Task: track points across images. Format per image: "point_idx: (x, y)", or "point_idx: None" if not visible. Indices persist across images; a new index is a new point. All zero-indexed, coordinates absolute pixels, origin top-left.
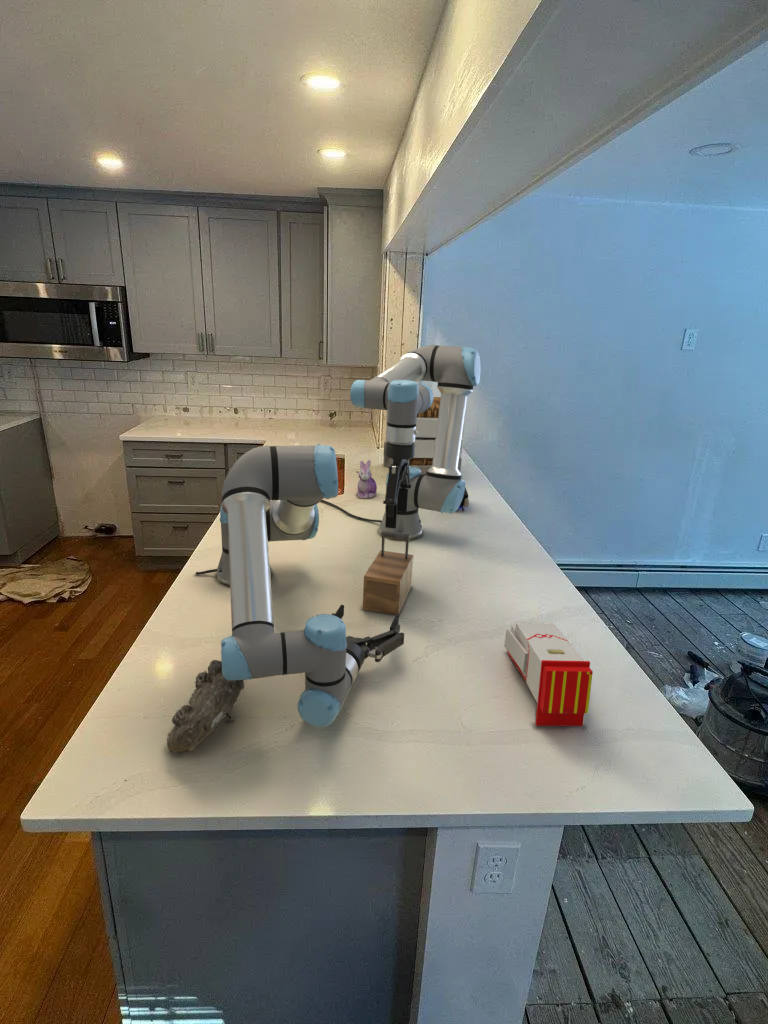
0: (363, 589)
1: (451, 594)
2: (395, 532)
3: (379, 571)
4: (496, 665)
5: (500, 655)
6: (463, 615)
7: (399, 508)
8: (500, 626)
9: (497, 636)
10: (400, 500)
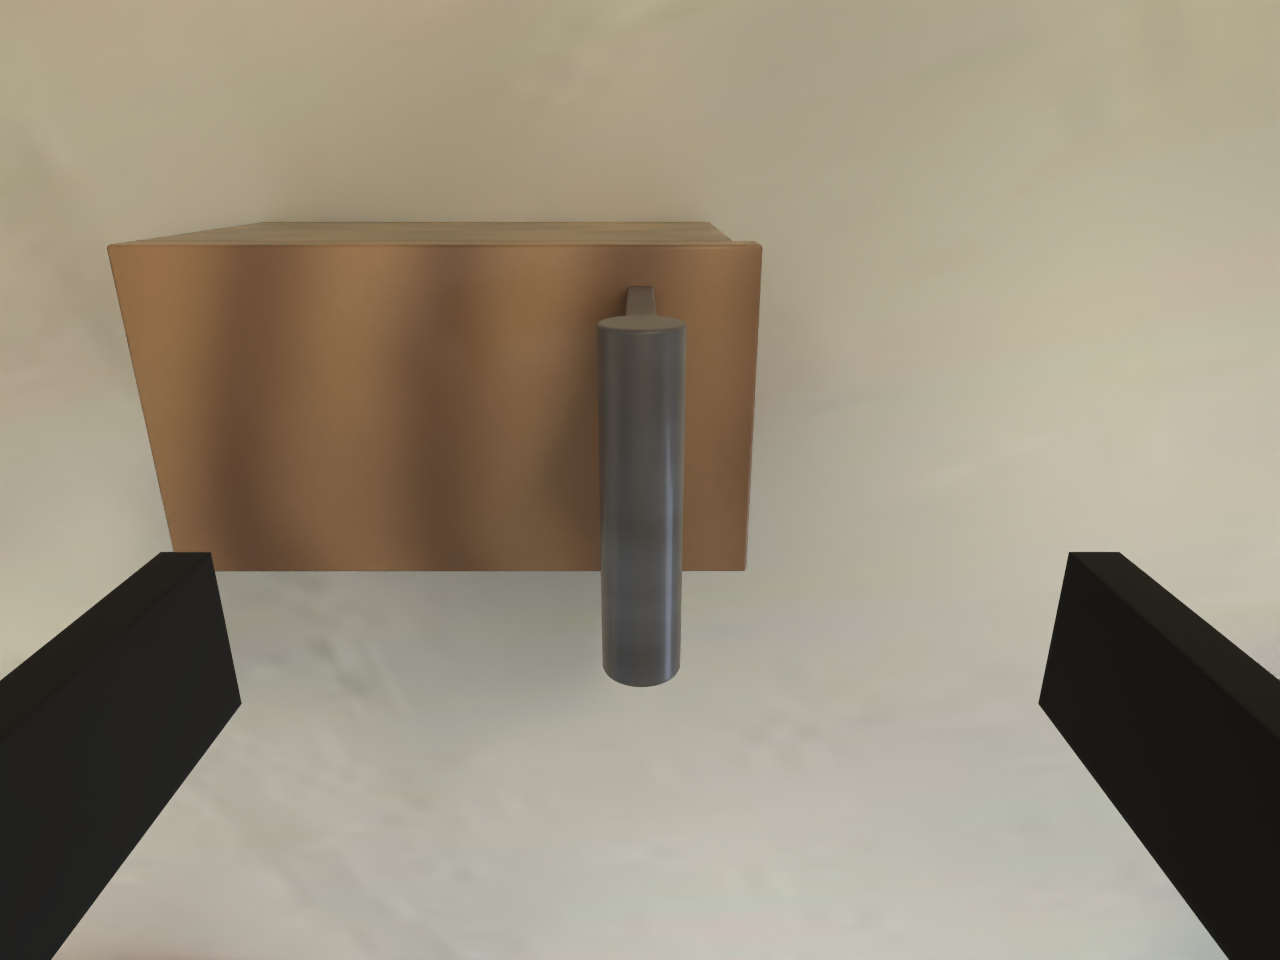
0: (184, 234)
1: (680, 701)
2: (644, 520)
3: (268, 363)
4: (95, 929)
5: (179, 938)
6: (460, 780)
7: (1085, 618)
8: (426, 929)
9: (329, 922)
10: (1188, 733)
